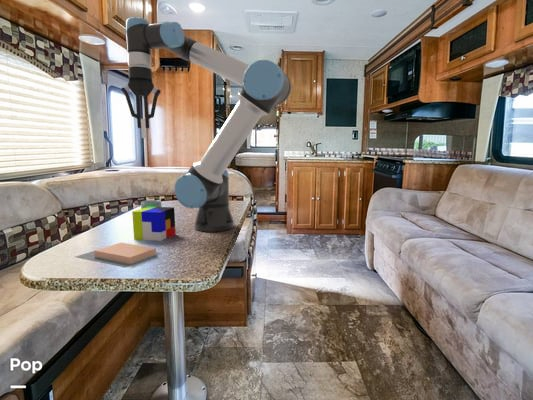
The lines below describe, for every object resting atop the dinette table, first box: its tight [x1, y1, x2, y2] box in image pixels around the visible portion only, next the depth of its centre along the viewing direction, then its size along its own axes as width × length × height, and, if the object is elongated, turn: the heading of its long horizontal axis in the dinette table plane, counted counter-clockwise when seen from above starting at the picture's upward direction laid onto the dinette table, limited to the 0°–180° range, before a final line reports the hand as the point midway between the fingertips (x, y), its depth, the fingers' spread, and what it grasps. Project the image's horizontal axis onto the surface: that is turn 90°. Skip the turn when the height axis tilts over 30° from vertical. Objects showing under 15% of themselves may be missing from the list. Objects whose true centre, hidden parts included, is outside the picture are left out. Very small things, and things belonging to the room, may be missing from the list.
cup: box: [140, 199, 163, 209], centre depth 132 cm, size 8×8×10 cm
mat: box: [74, 250, 163, 268], centre depth 94 cm, size 20×13×1 cm, turn 64°
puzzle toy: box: [132, 206, 177, 242], centre depth 114 cm, size 10×10×10 cm
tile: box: [93, 242, 157, 266], centre depth 93 cm, size 2×9×14 cm
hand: (144, 137), depth 117 cm, fingers closed
